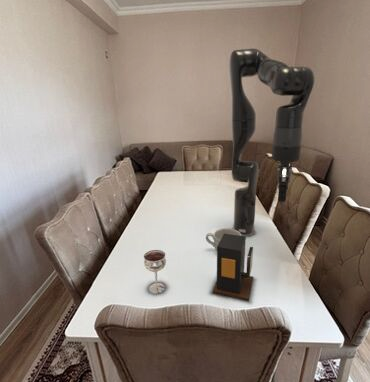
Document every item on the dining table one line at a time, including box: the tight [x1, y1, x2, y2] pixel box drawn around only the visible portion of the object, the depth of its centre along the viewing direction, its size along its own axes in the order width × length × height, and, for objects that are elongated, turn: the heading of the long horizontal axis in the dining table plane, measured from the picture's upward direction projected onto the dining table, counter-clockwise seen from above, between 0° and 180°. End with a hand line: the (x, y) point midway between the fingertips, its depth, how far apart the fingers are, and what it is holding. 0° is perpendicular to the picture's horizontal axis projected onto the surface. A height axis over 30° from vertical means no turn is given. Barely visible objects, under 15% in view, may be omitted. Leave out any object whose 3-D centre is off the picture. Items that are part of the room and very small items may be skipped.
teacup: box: [205, 227, 242, 252], centre depth 100 cm, size 14×11×8 cm
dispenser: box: [212, 233, 254, 302], centre depth 78 cm, size 11×11×16 cm
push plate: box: [245, 246, 254, 278], centre depth 76 cm, size 6×1×7 cm, turn 159°
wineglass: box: [143, 249, 167, 294], centre depth 79 cm, size 7×7×12 cm
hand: (281, 200), depth 77 cm, fingers closed
